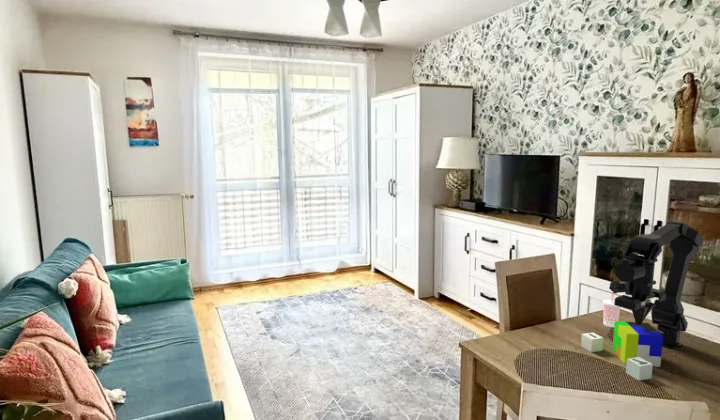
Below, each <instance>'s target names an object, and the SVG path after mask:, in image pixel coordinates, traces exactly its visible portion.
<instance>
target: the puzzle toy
mask: <svg viewBox="0 0 720 420" xmlns="http://www.w3.org/2000/svg"><path fill="white" fill-rule="evenodd" d="M612 338H613V339H612V348H611V349H612V350H613V352H614V353H615V355H616V356H617V357H618V358H619V359H620V360H621V362H623V364H624V365H626V364H627V359H630V358H636V357H640V358H642V359H644V360H646V361H648V362H650V363H651V364H653V366H652V367H657V368H658V367H659V368H660V367H661V363H662V354H663V353H662V352H663V345H662V343H663V336H662V335H661V334H660V333H659V332H658V331H657V328H654V326H652V325H651V324H650V323H649V322H642V323H641V324H640V325H638V324H636V322H635V321H621V320H618V321H615V323H614V327H613V337H612Z"/></svg>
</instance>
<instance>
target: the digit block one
mask: <svg viewBox="0 0 720 420" xmlns="http://www.w3.org/2000/svg"><path fill="white" fill-rule="evenodd" d="M580 338H581V340H580V347H582V348H583V349H585V350H586V351H588V352H590V353H595V352H601V351H603V350H604V349H603V347H604V337H603V336H601V335H599V334H597V333H596V332H585V333H581V337H580Z"/></svg>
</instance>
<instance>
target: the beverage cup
mask: <svg viewBox="0 0 720 420" xmlns="http://www.w3.org/2000/svg"><path fill="white" fill-rule="evenodd" d="M611 292H612V293H611V299H609V298H608V299H607V298H606V299H603V300H602V304H603V321H602V322H603V326H606V327H608V328H614V323H615V321H619V319H620V313H621V312H620V311H621V307H619V306H616V305H614V300H615V299H614V295H615V294H614V293H613V291H611Z"/></svg>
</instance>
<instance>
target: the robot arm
mask: <svg viewBox="0 0 720 420" xmlns="http://www.w3.org/2000/svg"><path fill="white" fill-rule="evenodd" d="M700 233H701V232H699V231H698V230H696V229H694V228H691V227H690V226H689V225H688V224H687V223H684V222H680V221H674V220H671V221H667V222H666V224H665V225H663V226H661V227H659V228H658V229H656V230H654V231H652V232H650V233H648V234H647V233H645V234H643V233H642V234H638V235H635V236H634V237H632V238H631V240H629V242H628V245H627V247H626V249H625V251H624V253H623V256H622V258H623V259H622V263H618V264H617V266H616V267H615V269H614V275H615V276H616V278H617V279H618V280H613V281H610V283H609V289H608V290H610V291H611V292H612V291H613V293H614V295H615V294H618V293H619V294H620V293H621V295H619V296H617V297H615V298H614V299H613V300H614V305H616V306H619V307H620V308H623V309H626V310H630V311H631V312H632V314H633V318H634V322H636V324H638V325H640V324H641V323H644V320H646V318H647V316H648V315H649V314H650V315H651V322H652V323H651V324H654V325H657V328H656V330H657V331H658V332H659V333H660V334H661V335H662V336H663V343H662V347H666V348H668V349H673V348H678V347H679V348H680V347H684V343H681V342H680V339H681V337H680V336H681V332H687V328H688V325H689V323H688V321H687V319H686V317H685V315H684V312H685V309H684V305H683V303H682V301H681V298H682V295H683V289H684V285H685V282H686V278H687V274H688V271H689V270H688V269H689V266H690V262H691V259H692V258H693V257H694V256H695V255H697V254H698V253H699V251H700V248H701V247H702V245H703V243H704V238H703V235H701V234H700ZM668 243H669V249H670V250H671V254H672V258H671V262H670V266H669V270H668V274H667V278H666V282H665V287H664V290H661V289H657V288H654V285H657V281H656V280H654V274H655V265H656V262H658V261H659V259H658V257H659V255H660V254H661V253H662V251H663V250H662V249H663V246H665V245H667V244H668ZM622 293H625V294H623V295H622ZM655 298H656V299H655ZM651 299H654V302H652V300H651Z"/></svg>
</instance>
